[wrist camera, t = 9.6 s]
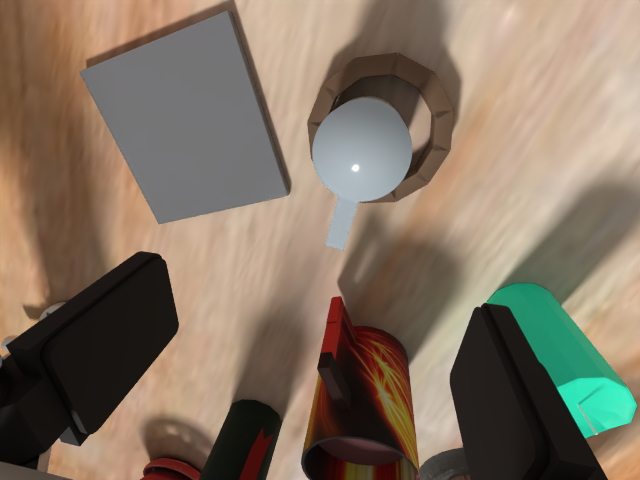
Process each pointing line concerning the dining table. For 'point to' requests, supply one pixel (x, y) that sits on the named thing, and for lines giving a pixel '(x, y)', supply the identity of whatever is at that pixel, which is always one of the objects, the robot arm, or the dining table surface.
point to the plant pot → (169, 470)
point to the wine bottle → (244, 443)
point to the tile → (190, 121)
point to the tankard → (446, 466)
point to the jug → (360, 157)
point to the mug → (360, 406)
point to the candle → (569, 359)
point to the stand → (431, 95)
